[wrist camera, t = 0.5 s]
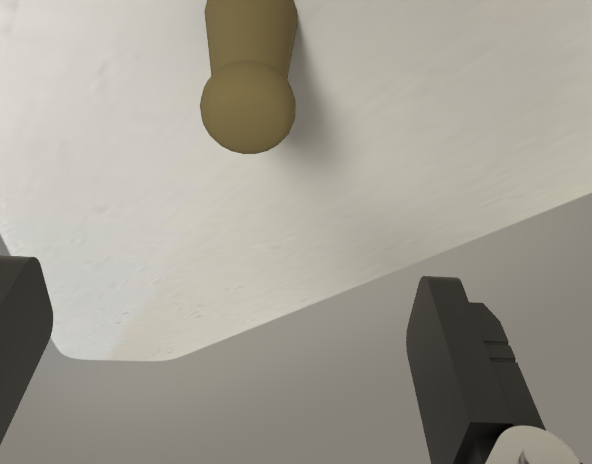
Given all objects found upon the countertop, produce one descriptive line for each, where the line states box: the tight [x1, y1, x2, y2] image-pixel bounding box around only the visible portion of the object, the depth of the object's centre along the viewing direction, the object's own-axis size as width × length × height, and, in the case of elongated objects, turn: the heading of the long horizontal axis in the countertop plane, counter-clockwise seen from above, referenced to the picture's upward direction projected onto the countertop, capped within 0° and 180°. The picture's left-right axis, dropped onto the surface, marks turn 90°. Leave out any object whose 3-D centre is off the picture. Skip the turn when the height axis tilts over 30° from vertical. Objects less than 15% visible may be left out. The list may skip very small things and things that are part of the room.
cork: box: [200, 0, 297, 154], centre depth 33 cm, size 6×6×11 cm
